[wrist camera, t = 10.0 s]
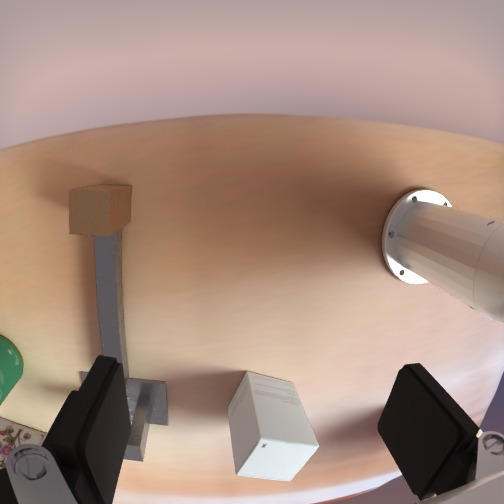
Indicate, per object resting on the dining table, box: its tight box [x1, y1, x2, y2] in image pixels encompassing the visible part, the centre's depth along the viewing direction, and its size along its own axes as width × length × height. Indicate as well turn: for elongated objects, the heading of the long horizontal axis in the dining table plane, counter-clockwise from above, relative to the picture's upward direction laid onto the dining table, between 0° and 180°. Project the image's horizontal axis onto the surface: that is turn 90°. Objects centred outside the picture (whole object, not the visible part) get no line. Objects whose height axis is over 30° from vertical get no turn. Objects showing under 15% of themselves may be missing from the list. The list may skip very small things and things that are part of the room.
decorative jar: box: [0, 418, 47, 469], centre depth 32 cm, size 12×12×18 cm
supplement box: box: [228, 371, 319, 481], centre depth 36 cm, size 7×7×13 cm
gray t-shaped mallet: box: [69, 185, 132, 386], centre depth 32 cm, size 4×24×8 cm, turn 174°
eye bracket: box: [81, 372, 168, 462], centre depth 35 cm, size 12×8×10 cm, turn 84°
